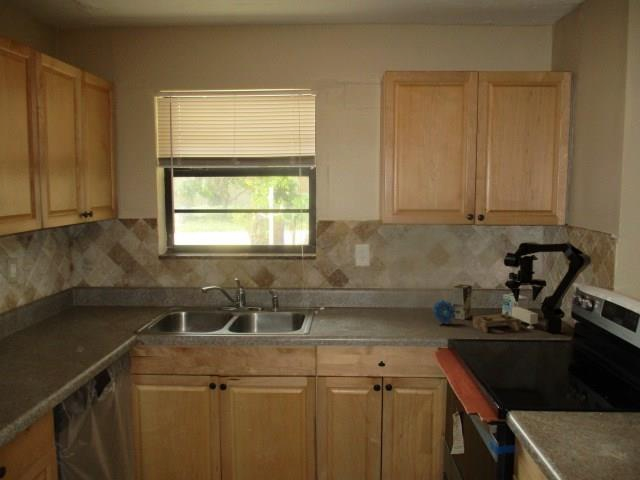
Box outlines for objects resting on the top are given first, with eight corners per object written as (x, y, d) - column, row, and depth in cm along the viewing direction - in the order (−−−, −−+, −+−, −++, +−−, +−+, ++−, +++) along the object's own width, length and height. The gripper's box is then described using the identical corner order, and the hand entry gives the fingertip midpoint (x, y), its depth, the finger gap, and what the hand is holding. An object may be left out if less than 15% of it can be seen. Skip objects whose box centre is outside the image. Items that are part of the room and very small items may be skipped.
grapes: (434, 326, 248) (435, 301, 246) (430, 323, 254) (430, 298, 253) (458, 325, 249) (459, 301, 248) (453, 322, 256) (454, 298, 254)
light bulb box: (501, 314, 271) (502, 294, 269) (511, 313, 273) (512, 293, 272) (517, 319, 261) (518, 298, 260) (527, 318, 264) (528, 297, 263)
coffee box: (464, 320, 260) (465, 288, 258) (452, 318, 263) (452, 286, 262) (471, 316, 267) (472, 285, 265) (458, 314, 271) (459, 283, 269)
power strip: (518, 321, 258) (519, 307, 257) (537, 328, 244) (537, 313, 243) (511, 321, 256) (512, 307, 256) (529, 329, 243) (530, 314, 242)
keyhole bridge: (519, 329, 242) (519, 319, 242) (485, 332, 238) (485, 321, 237) (505, 323, 253) (505, 313, 252) (472, 326, 248) (472, 316, 248)
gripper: (532, 265, 258) (531, 296, 259) (498, 267, 253) (498, 299, 255) (547, 268, 247) (546, 301, 248) (512, 270, 242) (511, 304, 244)
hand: (525, 301), depth 249 cm, fingers open, 9 cm apart
